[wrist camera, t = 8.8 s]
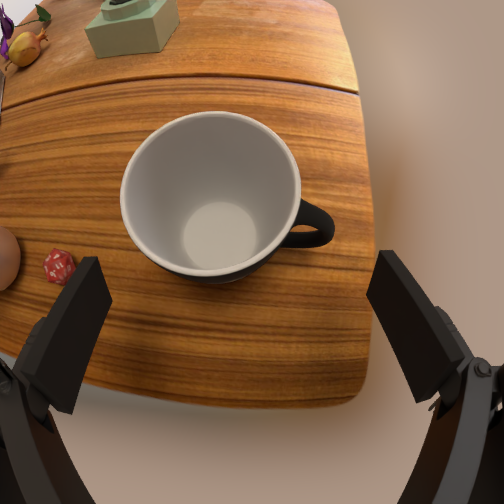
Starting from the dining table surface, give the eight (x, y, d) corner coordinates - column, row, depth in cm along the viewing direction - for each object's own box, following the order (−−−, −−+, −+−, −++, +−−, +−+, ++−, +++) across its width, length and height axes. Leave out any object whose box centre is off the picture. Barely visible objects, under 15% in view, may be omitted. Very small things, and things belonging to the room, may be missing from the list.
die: (68, 247, 22) (51, 238, 19) (86, 269, 22) (68, 263, 19) (51, 270, 21) (32, 264, 18) (67, 293, 21) (49, 289, 18)
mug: (155, 281, 22) (97, 258, 12) (179, 180, 24) (150, 105, 14) (304, 307, 22) (355, 302, 12) (316, 202, 24) (360, 136, 14)
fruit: (-5, 67, 21) (43, 28, 22) (-6, 48, 20) (38, 13, 22) (13, 84, 28) (56, 49, 29) (9, 65, 27) (50, 33, 29)
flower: (44, 34, 37) (-3, 50, 29) (53, -16, 25) (0, -3, 17) (52, 50, 35) (-4, 69, 27) (61, -10, 23) (-3, 6, 15)
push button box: (179, 22, 29) (173, -20, 21) (160, 52, 27) (149, 4, 20) (120, 28, 29) (108, -9, 21) (97, 58, 27) (79, 18, 20)
